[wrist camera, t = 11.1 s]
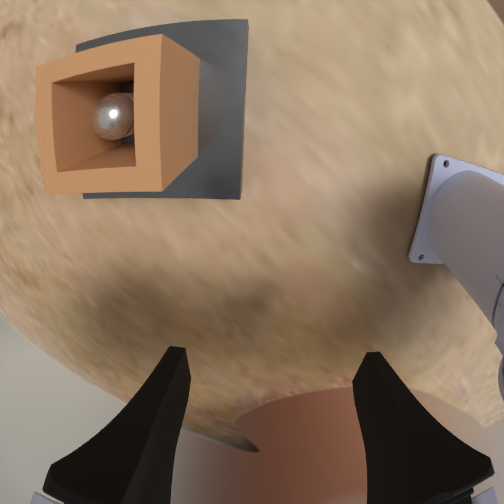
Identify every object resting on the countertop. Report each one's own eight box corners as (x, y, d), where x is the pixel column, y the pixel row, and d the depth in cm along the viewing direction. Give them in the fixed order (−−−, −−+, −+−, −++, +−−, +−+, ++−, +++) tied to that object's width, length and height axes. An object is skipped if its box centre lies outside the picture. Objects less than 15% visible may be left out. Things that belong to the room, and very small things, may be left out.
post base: (248, 26, 12) (241, -17, 6) (241, 191, 17) (231, 242, 11) (89, 47, 12) (20, 38, 6) (94, 191, 17) (36, 234, 11)
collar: (200, 58, 12) (162, 33, 6) (197, 157, 14) (162, 191, 9) (106, 70, 12) (36, 67, 6) (108, 160, 14) (45, 195, 9)
